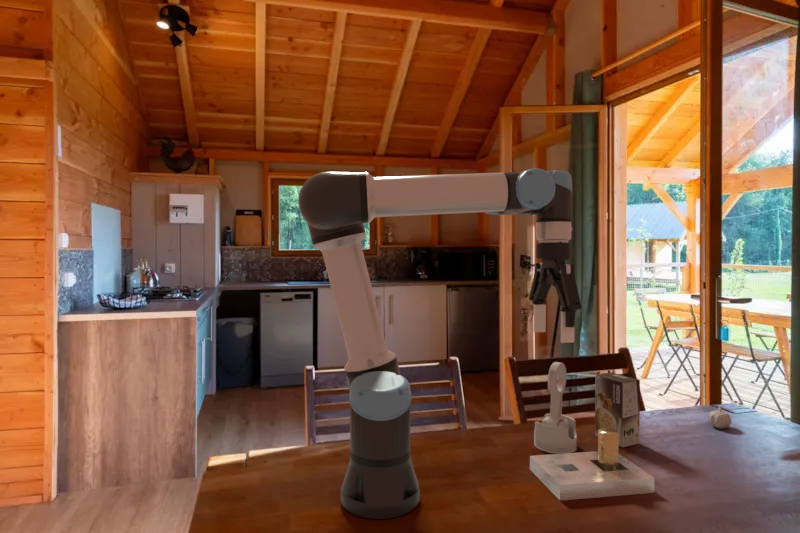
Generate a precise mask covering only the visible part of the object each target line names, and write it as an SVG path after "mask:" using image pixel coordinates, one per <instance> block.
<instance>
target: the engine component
mask: <svg viewBox="0 0 800 533" xmlns="http://www.w3.org/2000/svg"><path fill="white" fill-rule="evenodd" d="M566 384H567V367H566V365H565V364H564V363H563V362H559V361H554V362H552V364H551V365H550V367H549V369H548V375H547V389H548V391H549V393H550V408H549V413H548V412H547V413H545V414H544V416H543V419H542V421H541V422H540V421H537V420H535V422H534V430H533V446H535V448H537V449H538V450H540V451H543V452H545V453H549V454H564V453H575V452H576V451H577V448H578V447H577V445H578V443H577V442H578V436H577V427H576V426H577V425H576V423H577V422H576V420H575V418H573V417H571V416H569V415H565V414H562V413H563V411H562V410H563V394H564V392H565V388H566Z"/></svg>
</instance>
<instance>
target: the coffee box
mask: <svg viewBox="0 0 800 533" xmlns="http://www.w3.org/2000/svg"><path fill="white" fill-rule="evenodd" d="M594 378H595V380H594V383H595V384H594V388H595V393H594V394H595V395H594V396H595V399H594V400H595V401H594V404H595V406H594V408H595V410H594V411H595V412H594V418H595V419H594V420H595V421H594V424H595V426H594V429H595V430H594V433H595V434H594V436H595V437H597V438H598V430H599V429H612V430H615V431H617V432H618V433H619V447H620V448H626V447H627V448H628V447H631V446H634V445H639V444H640V418H641V417H640V414H641V413H640V403H641V402H640V397H641V396H640V393H641V392H640V391H641V389H640V388H641V387H640V385H641V384H640V382H641V381H640V379H637V378H633V377H630V376H625V375H623V374H618V373H615V372H606V373H605V372H604V373H599V374H595V377H594Z"/></svg>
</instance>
